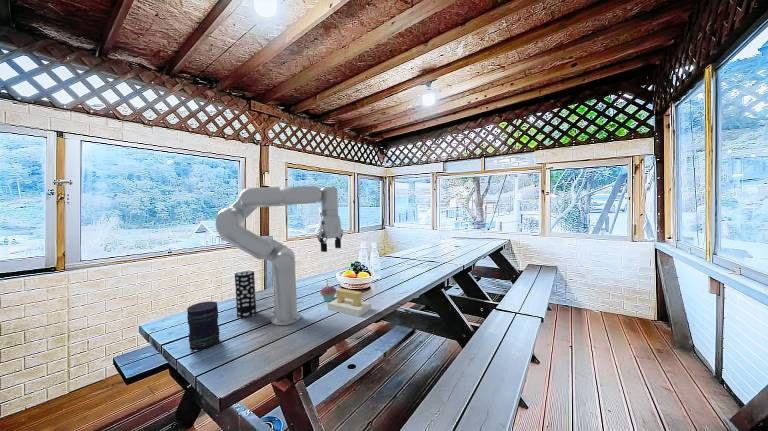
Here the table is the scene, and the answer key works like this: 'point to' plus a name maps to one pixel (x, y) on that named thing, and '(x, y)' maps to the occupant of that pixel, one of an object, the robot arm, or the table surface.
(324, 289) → the cupcake
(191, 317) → the storage jar
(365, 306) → the white slab with recess
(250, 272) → the white-spotted black cylinder
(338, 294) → the yellow arch block
